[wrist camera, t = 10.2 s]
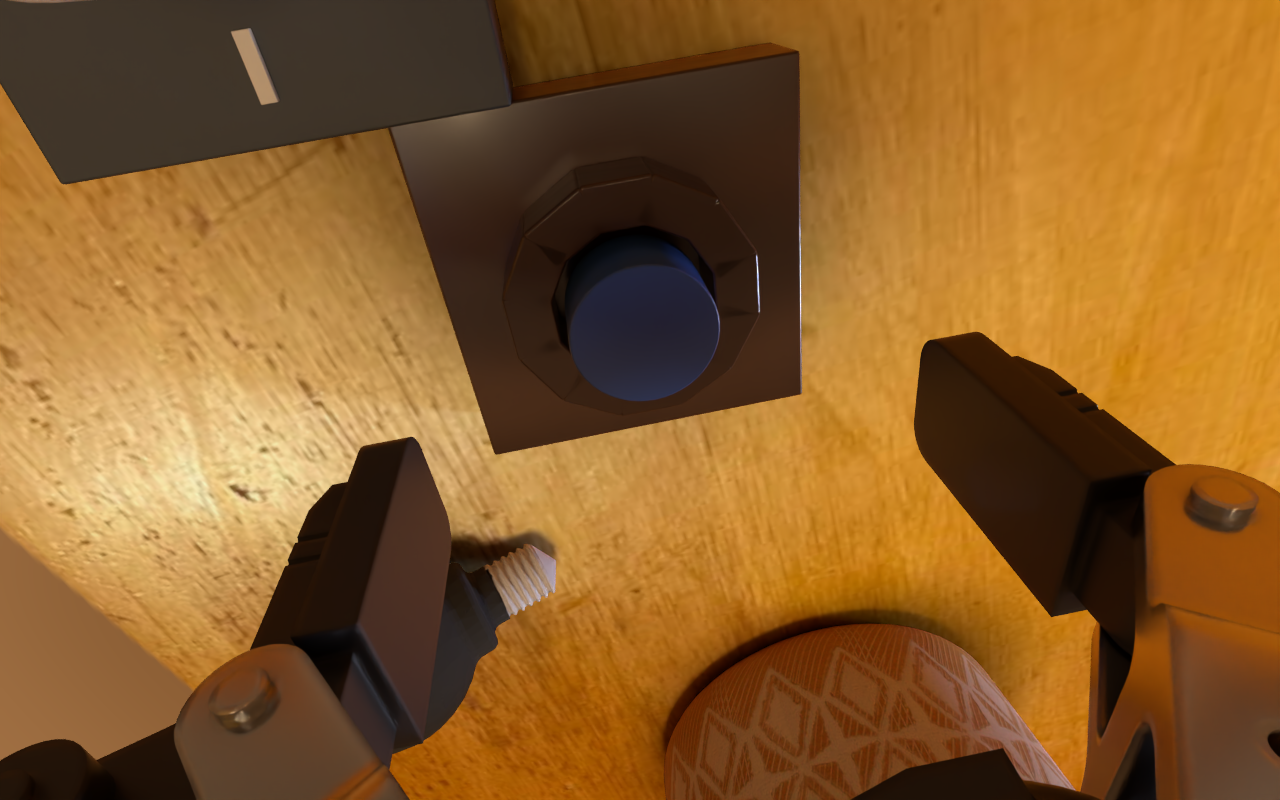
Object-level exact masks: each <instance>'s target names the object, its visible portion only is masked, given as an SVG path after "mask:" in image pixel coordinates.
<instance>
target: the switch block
mask: <svg viewBox="0 0 1280 800" xmlns="http://www.w3.org/2000/svg"><path fill="white" fill-rule="evenodd" d="M388 130H389V133H390V136H391V139H392V142H393V145H394V148H395V151H396V154H397V157H398V160H399V163H400V166H401V170H402V173H403V176H404V179H405V182H406V185H407V188H408V191H409V194H410V197H411V200H412V203H413V206H414V209H415V212H416V215H417V218H418V221H419V224H420V228H421V231H422V234H423V237H424V240H425V243H426V246H427V249H428V252H429V255H430V258H431V261H432V264H433V267H434V270H435V273H436V276H437V279H438V283H439V286H440V289H441V292H442V295H443V298H444V301H445V304H446V307H447V310H448V313H449V316H450V319H451V322H452V325H453V328H454V331H455V334H456V338H457V341H458V344H459V347H460V350H461V353H462V356H463V359H464V362H465V365H466V368H467V371H468V374H469V377H470V380H471V383H472V386H473V389H474V393H475V396H476V399H477V402H478V405H479V408H480V411H481V414H482V417H483V420H484V423H485V426H486V429H487V432H488V435H489V438H490V441H491V444H492V448H493V451H494V453H495V454H502V453H507V452H512V451H517V450H522V449H527V448H533V447H538V446H543V445H548V444H553V443H558V442H563V441H568V440H573V439H578V438H583V437H588V436H593V435H598V434H603V433H608V432H613V431H618V430H623V429H628V428H633V427H638V426H643V425H649V424H654V423H659V422H664V421H669V420H674V419H679V418H684V417H689V416H694V415H699V414H704V413H709V412H714V411H719V410H724V409H729V408H734V407H739V406H744V405H749V404H754V403H759V402H765V401H770V400H775V399H780V398H785V397H790V396H795V395H800V394H801V393H802V349H801V209H800V69H799V52H798V51H796V50H793V49H790V48H786V47H783V46H780V45H777V44H773V43H766V44H760V45H754V46H748V47H743V48H737V49H731V50H725V51H720V52H714V53H708V54H702V55H697V56H691V57H685V58H680V59H674V60H668V61H662V62H657V63H651V64H645V65H639V66H634V67H628V68H622V69H616V70H611V71H605V72H599V73H594V74H588V75H582V76H576V77H571V78H565V79H559V80H553V81H548V82H542V83H536V84H530V85H525V86H519V87H513V89H512V99H511V105H510V106H509V107H503V108H498V109H492V110H486V111H481V112H475V113H469V114H464V115H458V116H452V117H447V118H441V119H435V120H429V121H424V122H418V123H412V124H407V125H401V126H395V127H390V128H388ZM626 235H648V236H654V237H657V238H661V239H663V240H666V241H668V242H670V243H672V244H673V245H675V246H676V247H678V248H679V249H680V250H681V251H683V252H684V253H685V254H686V255H687V256H688V258H689V259H690V260H691V262H692V263H693V265H694V266H695V268H696V270H697V271H698V273H699V275H700V277H701V278H702V280H703V282H704V284H705V285H706V287H707V289H708V291H709V292H710V294H711V296H712V298H713V300H714V302H715V304H716V307H717V310H718V313H719V320H720V334H719V341H718V344H717V348H716V350H715V353H714V355H713V357H712V359H711V361H710V363H709V364H708V366H707V367H706V368H705V370H704V371H703V372H702V373H701V374H700V375H699V376H698V378H697V379H695V380H694V381H693V382H692V383H691V384H689V385H688V386H686V387H685V388H683V389H682V390H680V391H678V392H676V393H674V394H672V395H669V396H666V397H663V398H659V399H656V400H649V401H628V400H623V399H618V398H615V397H612V396H609V395H607V394H605V393H603V392H601V391H600V390H598V389H596V388H595V387H593V386H592V385H591V384H590V383H589V382H588V381H587V380H586V379H585V378H584V377H583V376H582V375H581V373H580V372H579V370H578V369H577V367H576V365H575V363H574V361H573V359H572V356H571V352H570V347H569V340H568V332H567V323H566V315H565V292H566V287H567V284H568V281H569V278H570V276H571V274H572V272H573V270H574V269H575V267H576V266H577V264H578V263H579V262H580V261H581V259H582V258H583V257H584V256H585V255H586V254H588V253H589V252H590V251H591V250H593V249H594V248H595V247H597V246H598V245H600V244H602V243H604V242H606V241H608V240H611V239H613V238H617V237H621V236H626Z"/></svg>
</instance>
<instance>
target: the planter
mask: <svg viewBox="0 0 1280 800" xmlns="http://www.w3.org/2000/svg"><path fill="white" fill-rule="evenodd" d="M1001 748H1003V749H1004V751H1005V752H1006V754H1007V756H1008V757H1009V759H1010V760H1011V762H1012V764H1013V765H1014V767H1015V769H1016V770H1017V772H1018V774H1019V775H1020V777H1021V779H1022V780H1029V781H1035V782H1040V783H1045V784H1051V785H1056V786H1061V787H1065V788H1068V789H1072V790H1075V789H1074V787H1073V786H1072V785H1071V783H1070V782H1069V781H1068V779H1067V778H1066V777H1065V776H1064V774H1063V773H1062V772H1061V770H1060V769H1059V768H1058V766H1057V765H1056V764H1055V762H1054V761H1053V760H1052V758H1051V757H1050V756H1049V754H1048V753H1047V752H1046V750H1045V749H1044V748H1043V746H1042V745H1041V744H1040V743H1039V741H1038V740H1037V739H1036V737H1035V736H1034V735H1033V733H1032V732H1031V731H1030V729H1029V728H1028V727H1027V725H1026V724H1025V723H1024V721H1023V720H1022V719H1021V717H1020V716H1019V715H1018V714H1017V712H1016V711H1015V710H1014V708H1013V707H1012V706H1011V704H1010V703H1009V702H1008V700H1007V699H1006V698H1005V696H1004V695H1003V694H1002V692H1001V691H1000V690H999V688H998V687H997V686H996V685H995V683H994V682H993V681H992V679H991V678H990V677H989V675H988V674H987V673H986V671H985V670H984V669H983V668H982V667H981V666H980V664H979V663H978V662H977V661H976V660H975V659H974V658H973V657H971V656H970V655H969V654H968V653H967V652H966V651H964V650H963V649H961V648H960V647H958V646H957V645H955V644H953V643H952V642H950V641H948V640H946V639H944V638H942V637H940V636H937V635H934V634H932V633H929V632H926V631H923V630H919V629H916V628H911V627H906V626H900V625H891V624H852V625H843V626H836V627H830V628H825V629H820V630H815V631H811V632H808V633H804V634H801V635H797V636H794V637H791V638H788V639H786V640H783V641H780V642H778V643H775V644H773V645H771V646H768V647H766V648H764V649H762V650H760V651H758V652H756V653H754V654H752V655H750V656H748V657H746V658H745V659H743V660H741V661H740V662H738V663H736V664H735V665H733V666H732V667H730V668H729V669H727V670H726V671H725V672H723V673H722V674H721V675H719V676H718V677H717V678H716V679H714V680H713V681H712V682H711V683H710V684H709V685H708V686H707V687H705V688H704V689H703V690H702V691H701V692H700V693H699V694H698V695H697V696H696V697H695V699H694V700H693V701H692V702H691V703H690V705H689V706H688V707H687V709H686V710H685V711H684V713H683V714H682V716H681V718H680V720H679V721H678V723H677V725H676V727H675V729H674V731H673V733H672V735H671V738H670V741H669V744H668V748H667V751H666V756H665V765H664V783H665V794H666V800H850V799H852V798H854V797H856V796H858V795H860V794H861V793H863V792H865V791H867V790H869V789H870V788H872V787H874V786H876V785H878V784H879V783H881V782H883V781H885V780H887V779H888V778H890V777H892V776H894V775H896V774H897V773H899V772H901V771H903V770H905V769H906V768H911V767H916V766H921V765H925V764H930V763H935V762H939V761H944V760H949V759H954V758H958V757H963V756H968V755H972V754H977V753H982V752H987V751H991V750H996V749H1001ZM1075 791H1076V790H1075Z"/></svg>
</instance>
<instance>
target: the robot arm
mask: <svg viewBox="0 0 1280 800" xmlns="http://www.w3.org/2000/svg"><path fill="white" fill-rule="evenodd" d="M914 430H915V437H916V441H917V444H918V447H919V450H920V452H921V454H922V456H923V458H924V459H925V460H926V462H927V463H928V464H929V465H930V467H931V468H932V469H933V470H934V472H935V473H936V474H937V475H938V477H939V478H940V479H941V480H942V482H943V483H944V484H945V485H946V487H947V488H948V489H949V490H950V492H951V493H952V494H953V495H954V497H955V498H956V499H957V500H958V502H959V503H960V504H961V505H962V507H963V508H964V509H965V510H966V511H967V513H968V514H969V515H970V516H971V518H972V519H973V520H974V521H975V523H976V524H977V525H978V526H979V528H980V529H981V530H982V531H983V533H984V534H985V535H986V536H987V538H988V539H989V540H990V541H991V543H992V544H993V545H994V546H995V548H996V549H997V550H998V551H999V553H1000V554H1001V555H1002V556H1003V557H1004V559H1005V560H1006V561H1007V562H1008V564H1009V565H1010V566H1011V567H1012V569H1013V570H1014V571H1015V572H1016V574H1017V575H1018V576H1019V577H1020V579H1021V580H1022V581H1023V582H1024V584H1025V585H1026V586H1027V587H1028V589H1029V590H1030V591H1031V592H1032V594H1033V595H1034V596H1035V597H1036V599H1037V600H1038V601H1039V602H1040V603H1041V605H1042V606H1043V607H1044V608H1045V610H1046V611H1047V612H1048V613H1049V615H1050V616H1051V617H1054V616H1058V615H1063V614H1068V613H1073V612H1078V611H1083V610H1088V611H1089V612H1090V614H1091V615H1092V616H1093V617H1094V618H1095V619H1096V621H1097V623H1096V626H1095V628H1094V631H1093V635H1092V644H1091V669H1090V695H1089V720H1088V746H1087V760H1086V767H1085V773H1084V778H1083V783H1082V787H1081V791H1080V792H1078V791H1075V790H1072V789H1068V788H1065V787H1061V786H1056V785H1051V784H1045V783H1040V782H1035V781H1029V780H1022V779H1021V777H1020V775H1019V774H1018V772H1017V770H1016V769H1015V767H1014V765H1013V764H1012V762H1011V760H1010V759H1009V757H1008V756H1007V754H1006V752H1005V751H1004V749H1003V748H1001V749H996V750H991V751H987V752H982V753H977V754H972V755H968V756H963V757H958V758H954V759H949V760H944V761H939V762H935V763H930V764H925V765H921V766H916V767H911V768H906V769H905V770H903V771H901V772H899V773H897V774H896V775H894V776H892V777H890V778H888V779H887V780H885V781H883V782H881V783H879V784H878V785H876V786H874V787H872V788H870V789H869V790H867V791H865V792H863V793H861V794H860V795H858V796H856V797H854V798H852V799H850V800H1280V493H1279V492H1278V491H1276V490H1275V489H1273V488H1271V487H1270V486H1268V485H1266V484H1265V483H1262V482H1260V481H1258V480H1256V479H1254V478H1252V477H1249V476H1246V475H1244V474H1241V473H1238V472H1235V471H1231V470H1228V469H1223V468H1219V467H1214V466H1206V465H1194V464H1185V465H1176V464H1174V463H1173V462H1172V461H1170V460H1169V459H1168V458H1166V457H1165V456H1164V455H1162V454H1161V453H1160V452H1159V451H1157V450H1156V449H1155V448H1153V447H1152V446H1151V445H1149V444H1148V443H1147V442H1145V441H1144V440H1143V439H1141V438H1140V437H1139V436H1138V435H1136V434H1135V433H1134V432H1132V431H1131V430H1130V429H1128V428H1127V427H1126V426H1124V425H1123V424H1122V423H1121V422H1119V421H1118V420H1117V419H1115V418H1114V417H1113V416H1111V415H1110V414H1109V413H1107V412H1106V411H1105V410H1104V409H1101V410H1099V409H1098V405H1097V404H1096V403H1094V402H1093V401H1092V400H1090V399H1089V398H1088V397H1087V396H1085V395H1084V394H1083V393H1079V394H1078V393H1077V389H1076V388H1075V387H1073V386H1072V385H1071V384H1070V383H1068V382H1067V381H1066V380H1064V379H1063V378H1062V377H1060V376H1059V375H1058V374H1056V373H1055V372H1054V371H1053V370H1051V369H1048V368H1046V367H1043V366H1041V365H1038V364H1036V363H1034V362H1031V361H1029V360H1026V359H1024V358H1021V357H1019V356H1014V357H1011V356H1010V355H1009V354H1008V353H1006V352H1005V351H1004V350H1003V349H1001V348H1000V347H999V346H998V345H996V344H995V343H994V342H993V341H991V340H990V339H989V338H988V337H986V336H985V335H984V334H982V333H980V332H971V333H966V334H961V335H955V336H950V337H945V338H940V339H934V340H930V341H928V342H926V343H925V345H924V346H923V349H922V352H921V358H920V368H919V378H918V388H917V398H916V408H915V418H914ZM297 538H298V543H295V545H294V547H293V549H292V552H291V554H290V556H289V559H288V562H289V565H288V566H285V568H284V571H283V573H282V575H281V578H280V580H279V582H278V585H277V587H276V590H275V592H274V594H273V597H272V599H271V601H270V604H269V606H268V608H267V611H266V613H265V616H264V618H263V620H262V623H261V625H260V627H259V630H258V632H257V635H256V637H255V639H254V642H253V644H252V646H251V649H250V651H247V652H245V653H243V654H241V655H239V656H237V657H235V658H233V659H232V660H230V661H228V662H226V663H225V664H224V665H222V666H221V667H219V668H218V669H217V670H215V671H214V672H213V673H212V674H211V675H209V676H208V677H207V678H206V679H205V680H204V681H203V682H202V683H201V684H200V685H199V686H198V687H197V688H196V689H195V691H194V692H193V693H192V694H191V696H190V697H189V698H188V700H187V701H186V703H185V705H184V706H183V708H182V710H181V712H180V714H179V716H178V718H177V721H176V723H175V724H174V725H171V726H169V727H167V728H166V729H163V730H161V731H159V732H157V733H154V734H152V735H151V736H148V737H146V738H144V739H141V740H139V741H137V742H135V743H133V744H131V745H129V746H126V747H124V748H122V749H120V750H118V751H116V752H113V753H111V754H109V755H107V756H105V757H103V758H100V759H98V760H95V759H94V758H93V757H92V756H91V755H90V754H89V753H88V752H87V751H86V750H85V749H83V748H82V746H80V745H79V744H77V743H76V742H74V741H70V740H66V739H58V740H57V739H55V740H49V741H44V742H40V743H37V744H34V745H31V746H29V747H26V748H24V749H21V750H20V751H17V752H15V753H13V754H11V755H9V756H8V757H6V758H4V759H2V760H1V761H0V800H410V799H409V798H408V797H407V795H406V794H405V792H404V791H403V789H402V788H401V787H400V785H399V784H398V782H397V781H396V779H395V778H394V776H393V775H392V774H391V772H390V771H389V768H390V763H391V757H392V752H393V749H397V748H402V747H407V746H412V745H416V744H421V743H423V739H424V732H425V726H426V719H427V712H428V705H429V698H430V691H431V684H432V678H433V671H434V664H435V657H436V650H437V643H438V636H439V630H440V623H441V616H442V609H443V602H444V595H445V589H446V582H447V575H448V568H449V561H450V554H451V532H450V525H449V520H448V516H447V513H446V510H445V507H444V505H443V502H442V500H441V497H440V495H439V492H438V490H437V487H436V485H435V482H434V479H433V477H432V474H431V472H430V469H429V467H428V464H427V462H426V459H425V457H424V454H423V452H422V449H421V447H420V445H419V443H418V442H417V440H416V439H415V438H413V437H408V438H403V439H398V440H392V441H387V442H382V443H376V444H371V445H366V446H363V447H361V449H360V450H359V453H358V455H357V458H356V461H355V463H354V466H353V469H352V471H351V474H350V477H349V480H348V482H345V483H340V484H335V485H332V486H331V487H330V488H329V489H328V490H327V491H326V493H325V494H324V495H323V496H322V497H321V498H320V499H319V500H318V501H317V502H316V503H315V505H314V506H313V507H312V508H311V509H310V510H309V511H308V514H307V516H306V518H305V521H304V523H303V526H302V528H301V530H300V533H299V535H298V537H297Z"/></svg>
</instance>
